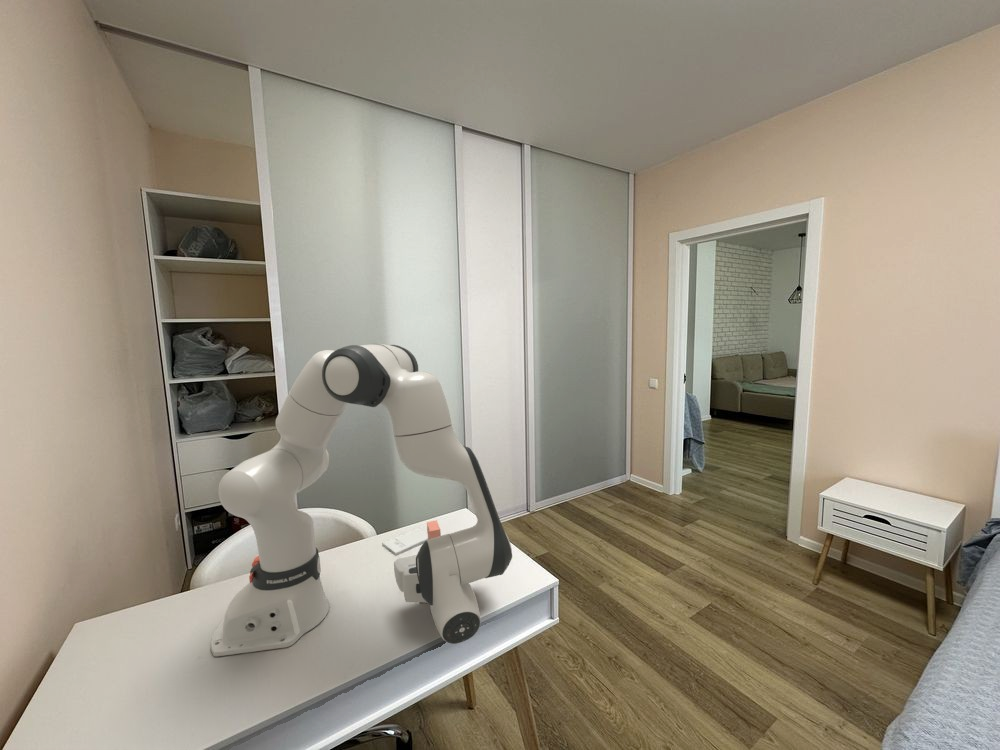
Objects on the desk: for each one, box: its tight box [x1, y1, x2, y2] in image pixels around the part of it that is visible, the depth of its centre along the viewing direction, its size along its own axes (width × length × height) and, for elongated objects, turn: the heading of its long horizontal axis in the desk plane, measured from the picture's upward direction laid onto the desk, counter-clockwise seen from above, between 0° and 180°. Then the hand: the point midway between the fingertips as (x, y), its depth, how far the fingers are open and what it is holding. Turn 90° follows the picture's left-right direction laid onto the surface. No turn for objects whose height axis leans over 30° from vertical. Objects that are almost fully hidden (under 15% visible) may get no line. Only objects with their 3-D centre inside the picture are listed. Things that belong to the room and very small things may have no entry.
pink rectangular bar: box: [426, 520, 442, 540], centre depth 98 cm, size 2×5×14 cm, turn 19°
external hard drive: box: [381, 527, 428, 557], centre depth 121 cm, size 2×8×12 cm
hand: (434, 546), depth 99 cm, fingers closed on pink rectangular bar, 2 cm apart
